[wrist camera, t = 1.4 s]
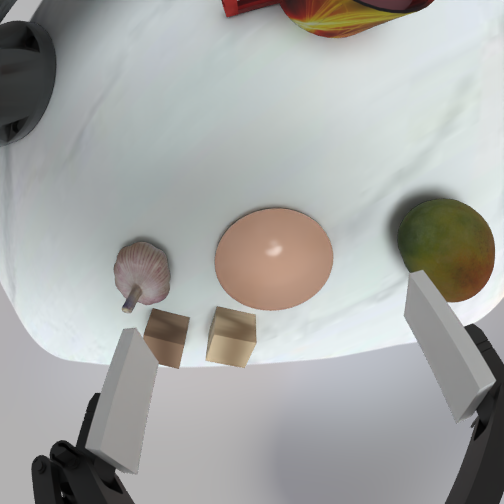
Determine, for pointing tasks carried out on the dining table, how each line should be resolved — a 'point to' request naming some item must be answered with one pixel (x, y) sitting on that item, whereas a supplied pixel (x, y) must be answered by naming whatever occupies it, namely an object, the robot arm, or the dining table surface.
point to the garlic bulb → (141, 275)
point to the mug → (333, 13)
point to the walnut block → (166, 336)
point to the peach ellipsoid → (273, 259)
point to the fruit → (448, 247)
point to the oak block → (231, 337)
